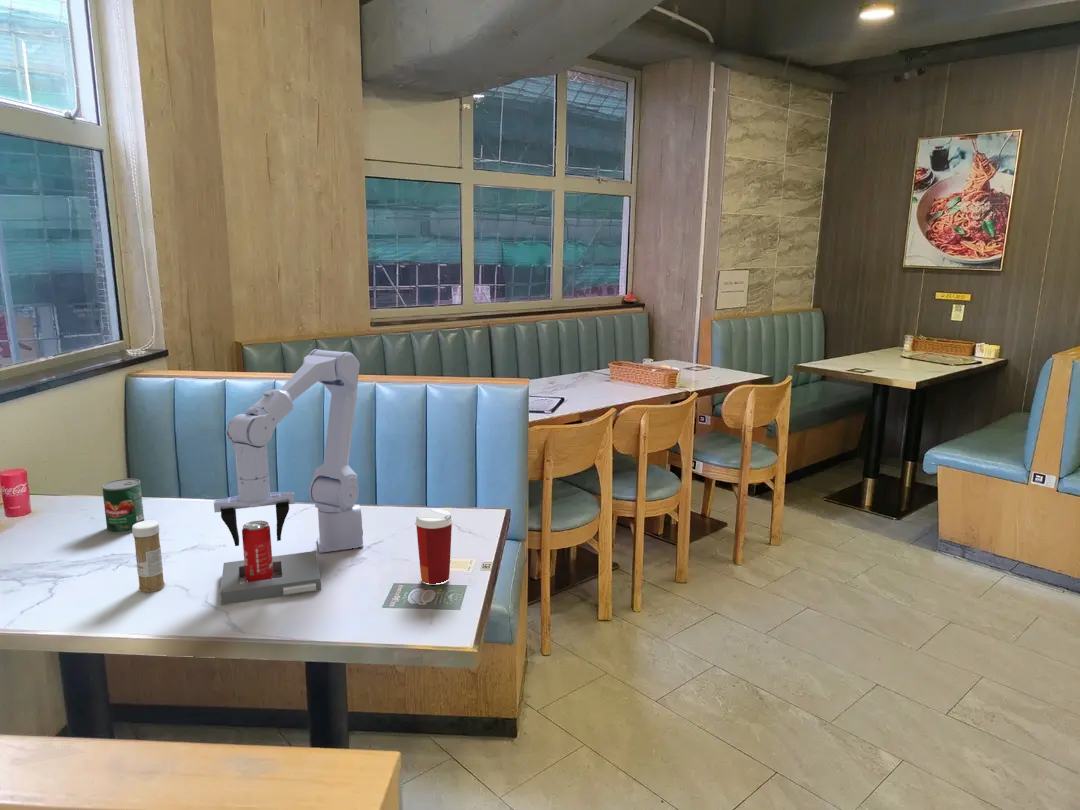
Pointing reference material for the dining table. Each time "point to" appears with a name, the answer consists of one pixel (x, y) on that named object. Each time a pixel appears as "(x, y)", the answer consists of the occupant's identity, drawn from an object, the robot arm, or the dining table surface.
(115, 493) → the canned tomato
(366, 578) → the dining table surface
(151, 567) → the sprinkles bottle
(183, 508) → the dining table surface
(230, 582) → the grey tray with recess
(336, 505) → the robot arm
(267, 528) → the red soda can
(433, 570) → the paper cup
